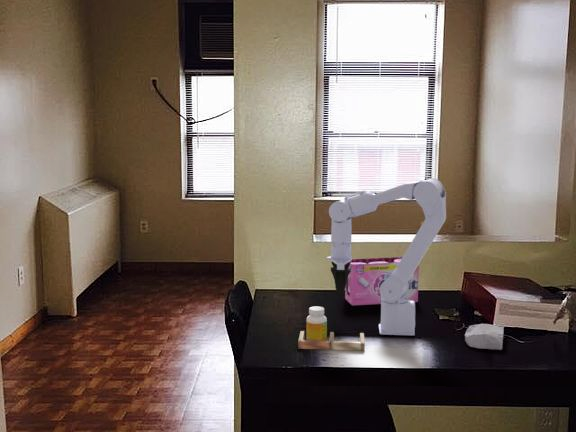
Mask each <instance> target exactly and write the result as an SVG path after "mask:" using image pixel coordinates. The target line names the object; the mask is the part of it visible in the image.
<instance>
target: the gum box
mask: <svg viewBox="0 0 576 432" xmlns="http://www.w3.org/2000/svg"><path fill="white" fill-rule="evenodd" d="M402 258H403V256H395V257H394V256H393V257H390V256H389V257H373V258H371V257H370V258H369V257H368V258H352V261H351V264H350V265H349V268H348V269H351V271H350V273H349V275H348V278H347V281H346V287H345V291H344V295H345V296H344V298H345V300H346V301H347V303H349V304H350V305H351V306H365V305H366V306H367V305H381V295H380V291H379V289H380V286H381V284H382V283H383V282H384V281H386V280H387V279H388V278H389V277H390V276H391V274H392V273H393V271H394V270H395V269H396V267H397V266H398V264H399V263H400V261H401V259H402ZM419 272H420V264H419V265H418V266H417V268H416V269H415V271H414V273H413V276H412V278H411V279H410V283H409V289H408V291H407V292H406V293H405V294H406V296H407V298H408V300H411V301H414V302H415V303H417V302H418V301H419V274H420V273H419Z"/></svg>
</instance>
